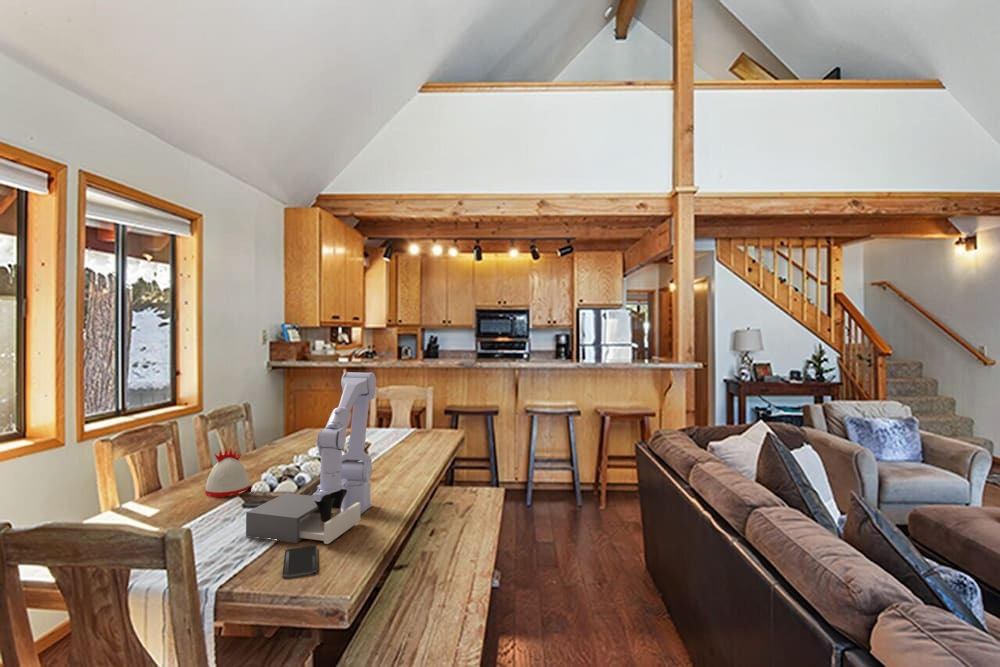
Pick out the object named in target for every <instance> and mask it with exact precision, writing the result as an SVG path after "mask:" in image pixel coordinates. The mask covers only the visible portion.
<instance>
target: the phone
mask: <svg viewBox="0 0 1000 667" xmlns="http://www.w3.org/2000/svg"><path fill="white" fill-rule="evenodd" d="M318 555H319V554H318V546H317V545H311V546H310V545H309V546H302V547H294V548H287V549H285V551H284V557H283V558H284V559H283V566H282V579H286V580H288V579H294V578H300V577H301V578H302V577H308V576H314V575H316V574H318V570H319V563H318Z"/></svg>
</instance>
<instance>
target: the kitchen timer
mask: <svg viewBox="0 0 1000 667" xmlns="http://www.w3.org/2000/svg"><path fill="white" fill-rule="evenodd" d="M236 455H237V450H235V451H234V452H233V451H232V447H231V448H230V449H229V453H228V450H227V448H225V449H224V454H223V453H222V450H221V449H219V454H218V455H217V453H214V456H215V459H216V460H217V462H216V464H215V465H213V467H212V469H211V470H210V471H209V472H208V477H207V481H206V483H205V488H204V489H205V490H204V491H205V492H204V494H205V496H207V497H210V496H212V497H211V498H224V497H223V496H228V497H232V496H231V495H234V496H236V495H235V494H238V493H239V492H241V491H244V490H247V489H248V488H249V487H250V488H251V486H250V485H251V484H250V483H251V482H250V477H249V475H248V472H247V468H246V467H245V465H244V464H243V463H242V462H241V461H240V460H239V459H240V458H241V455H242V454H241V453H239V455H238V456H236ZM238 495H239V494H238Z"/></svg>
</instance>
